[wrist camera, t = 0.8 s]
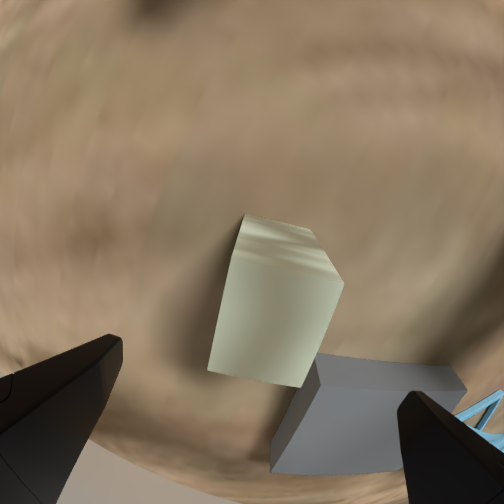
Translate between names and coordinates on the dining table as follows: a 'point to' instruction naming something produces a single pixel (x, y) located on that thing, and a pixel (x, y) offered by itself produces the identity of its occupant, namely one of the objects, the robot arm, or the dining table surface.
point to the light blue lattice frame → (485, 418)
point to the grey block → (354, 415)
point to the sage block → (274, 304)
